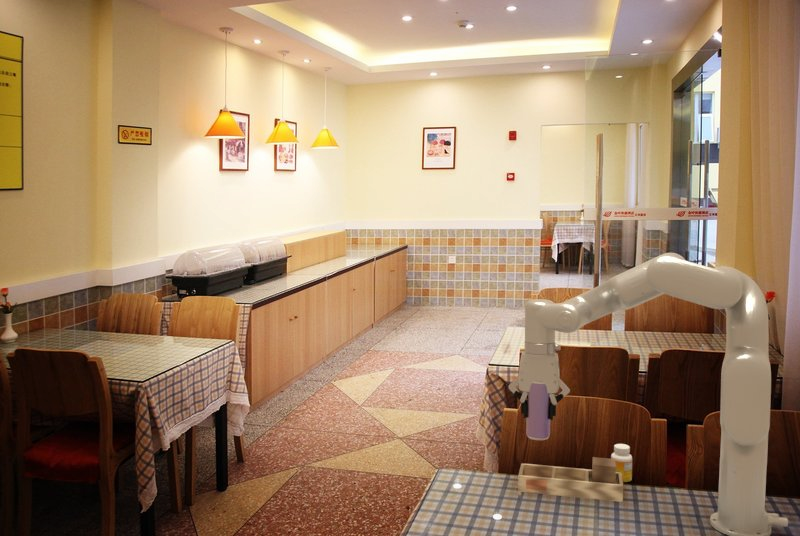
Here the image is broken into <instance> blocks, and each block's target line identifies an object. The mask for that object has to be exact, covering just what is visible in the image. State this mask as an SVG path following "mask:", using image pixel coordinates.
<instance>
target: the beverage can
mask: <svg viewBox="0 0 800 536" xmlns="http://www.w3.org/2000/svg"><path fill="white" fill-rule="evenodd" d="M544 383H545V382H533V383H532V384H531V386H530V392H528V395H527V397H526V399H527V417H526V418H525V419H526V421H525V422H526V426H525V428H526V429H525V430H526V431H525V432H526V436H527V438H529V439H530V440H534V441H545V440H548V439H549V437H550V436H551V435H550V434H551V420H550V404H551V399H550V396H549V394H548V393H547V387H546V385H545V384H544Z"/></svg>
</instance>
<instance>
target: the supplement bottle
mask: <svg viewBox="0 0 800 536" xmlns="http://www.w3.org/2000/svg"><path fill="white" fill-rule="evenodd" d="M630 452H631V447H630V445H628V444H625V443H616V444H614V445H613V452H612V453H611V455H610V459H615V463H616V472H621V473H622V480H623V483H627V482H628V483H629V482H631V481H632V479H633V456H632V454H630Z"/></svg>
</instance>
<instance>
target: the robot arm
mask: <svg viewBox="0 0 800 536" xmlns="http://www.w3.org/2000/svg"><path fill="white" fill-rule="evenodd" d="M663 295H667V296H670V297H673V298H677V299H679V300H683V301H687V302H690V303H693V304H697V305H700V306H704V307H707V308H710V309H715V310H725V314H726V315H725V316H726V317H725V319H726V322H725V323H726V324H725V325H726V326H725V331H726V333H725V334H726V336H725V337H726V339H725V340H726V341H725V352H724V353H725V354H724V357H723V361H722V366H721V373H720V375H721V376H720V377H721V378H720V412H719V413H720V415H719V416H720V417H719V423H720V429H721V435H720V454H719V455H720V457H719V476H718V477H719V478H718V493H717V494H718V495H717V496H718V497H717V498H718V500H717V501H718V502H717V511H716V512H714V513H711V515H710V516H709V523H710V525H711V527H713V529H715V530H716V531H718V532H720V533H722V534H724V535H726V536H771V535H772V527H773V526H778V527H786V528H787V527H788V526H789V520H788V517H782V516H780V515H779V513H775V512H773V513H771V512H768V511H767V510H766V508H765V506H766V503H765V502H766V487H767V486H766V485H767V466H768V449H769V448H768V447H769V446H768V445H769V431H770V426H771V402H772V401H771V399H772V398H771V395H772V370H771V362H770V357H769V356H770V354H769V346H770V345H769V342H770V340H769V339H770V337H769V336H770V335H769V332H770V331H769V311H768V310H769V309H768V305H767V300H766V297H765V295H764V293H763V291H762V290H761V288H760V286H759V285H758V284H757V283H756V282H755V280H754V279H753V278H751V277H750V276H749V275H747V274H746V273H744V272H743V271H740V270H738V269H737V268H735V267H731V266H725V265H722V266H716V267H710V266H706V265H702V264H699V263H695V262H693V261H692V262H691V261H689V260H686V259H685V258H684V256H682V255H681V254H679V253H676V252H666V253H662V254H660V255H658V256H655V257H653V258H651V259H649V260H647V261H644V262H642V263H639V264H638V265H636V266H634V267H632V268H629V269H628V270H625V271H623V272H620V273H619V274H617V275H615V276H613V277H611V278H609V279H608V280H607V281H605V282H604V283H602V284H600V285H597V286H595V287H593V288H592V289H589V290H587V291H584V292H583V293H580V294H578V295H575V296H573V297H572V298H570V299H568V300H565V301H562V302H559V303H557V302H556V303H555V302H554V301H552V300H549V299H546V298H545V299H543V298H536V299H534V298H532V299H528V301H526V303H525V305H524V306H525V307H524V351H521V355H520V361H519V367H518V368H519V371H518V376H517V377H516V378H515V379H514V380H513V381H512V382H511V383H509V384H508V387H507V388H508V390H509V391H510V392H511V393H512V394H513V395H514V396H515V397H516V398H517V399H518V400H519V402H520V414H521V415H523V419H526V417H527V395H528V392H530V386H531V384H532V383H533V382H545V383H544V384H545V385H546V387H547V393H548V394H549V396H550V399H551V404H550V421H553V420H554V417H556V415H557V404H558V403H559V402H560V401H561V400H562V399H564V398H565V397H566V396H567V395H568V394H569V393H571V389H570V388H569V387H568V386H567V384H566V383H564V381H563V380H562V379H561V377H560V360H559V353H558V352H557V351H561V346H562V344H558V343H556V332H560V333H564V334H572V333H575V332H577V331H578V330H580V329H581V328H582V327H584V326H585V325H587V324H591V322H594V321H597V320H598V319H601V318H603V317H605V316H608V315H610V314H614V313H616V312H619V311H627V310H630V309H633V308H635V307H637V306H639V305H642V304H644V303H647V302H649V301H651V300H653V299H655V298H659V297H660V296H663ZM516 386H518V389H519V390H518V389H517V387H516ZM559 389H561V390H562V391H561V392H559ZM558 392H559V393H558ZM557 393H558V394H557Z"/></svg>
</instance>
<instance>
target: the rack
mask: <svg viewBox="0 0 800 536" xmlns="http://www.w3.org/2000/svg"><path fill="white" fill-rule="evenodd" d="M519 467H520V468H519V471H518V476H517V495H518V496H522V493H530V494H537V495H538V494H540V495H548V496H549V495H551V496H561V497H567V498H568V497H570V498H577V499H578V498H579V499H588V500H599V501H608V502H609V501H611V502H617V503H618V502H620V503H624V482H623V480H622V473H621V472H616V484H610V483H599V482H592V469H587V468H577V467H568V466H567V467H566V466H558V465H557V466H554V465H543V464H533V463H522V462H521V463H520V466H519Z"/></svg>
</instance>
